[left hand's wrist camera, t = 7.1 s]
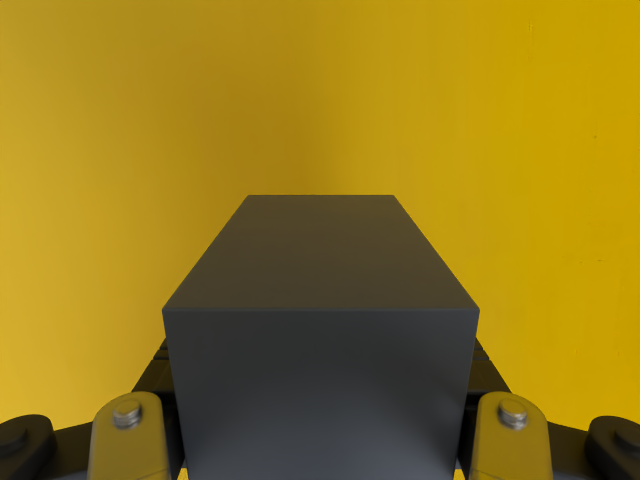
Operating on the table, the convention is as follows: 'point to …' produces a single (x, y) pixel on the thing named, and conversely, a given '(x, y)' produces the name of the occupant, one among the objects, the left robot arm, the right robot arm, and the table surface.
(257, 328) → the long box
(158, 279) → the table surface
